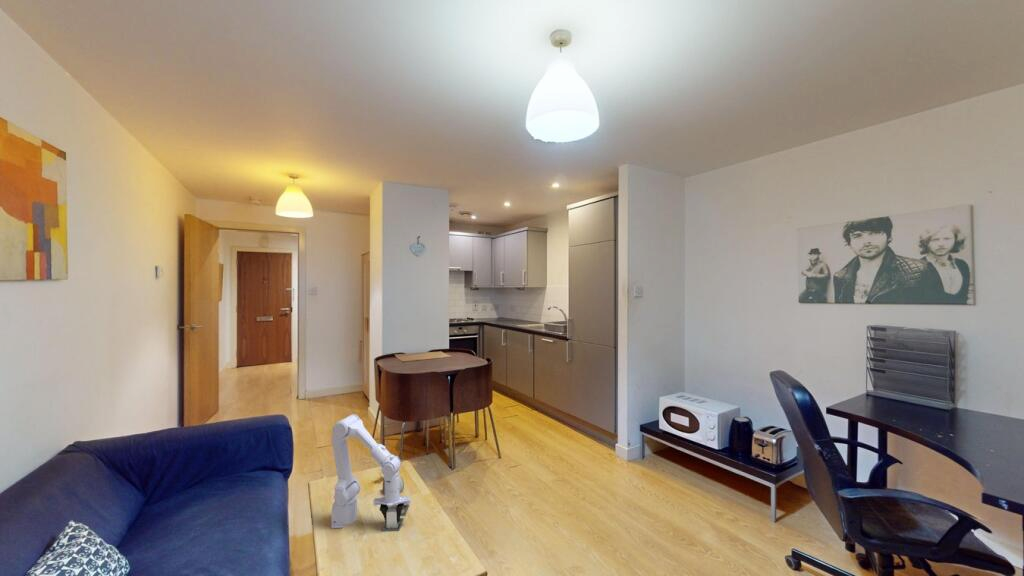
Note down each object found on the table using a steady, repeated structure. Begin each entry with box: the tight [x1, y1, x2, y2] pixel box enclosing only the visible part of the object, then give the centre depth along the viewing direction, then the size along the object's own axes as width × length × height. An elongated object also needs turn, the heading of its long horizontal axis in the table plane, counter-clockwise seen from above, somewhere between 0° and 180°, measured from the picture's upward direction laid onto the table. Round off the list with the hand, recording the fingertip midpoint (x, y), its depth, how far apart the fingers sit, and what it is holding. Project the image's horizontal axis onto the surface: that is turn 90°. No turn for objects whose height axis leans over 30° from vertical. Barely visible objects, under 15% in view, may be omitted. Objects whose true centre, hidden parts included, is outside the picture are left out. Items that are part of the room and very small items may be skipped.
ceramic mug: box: [382, 476, 405, 494], centre depth 188 cm, size 11×8×8 cm
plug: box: [386, 504, 399, 528], centre depth 161 cm, size 4×4×7 cm
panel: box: [380, 504, 410, 532], centre depth 166 cm, size 9×18×2 cm, turn 2°
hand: (392, 521), depth 161 cm, fingers closed on plug, 4 cm apart
